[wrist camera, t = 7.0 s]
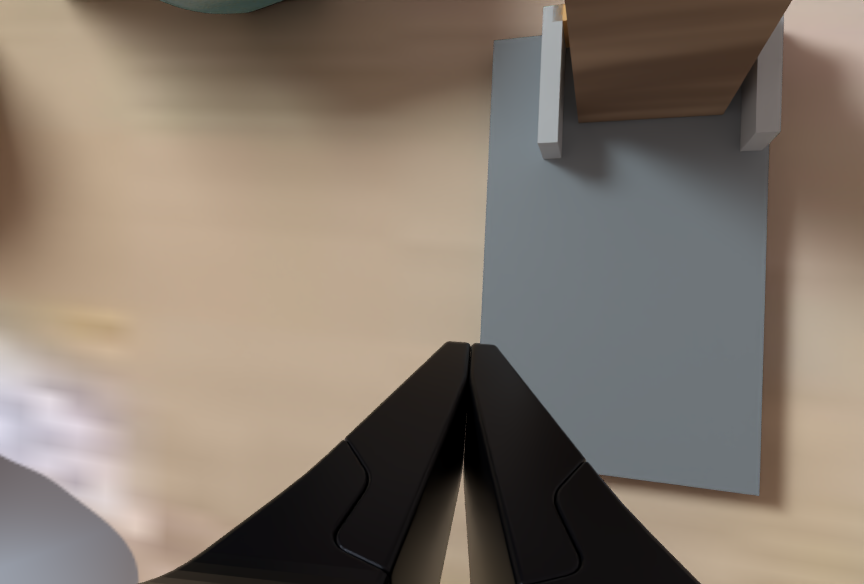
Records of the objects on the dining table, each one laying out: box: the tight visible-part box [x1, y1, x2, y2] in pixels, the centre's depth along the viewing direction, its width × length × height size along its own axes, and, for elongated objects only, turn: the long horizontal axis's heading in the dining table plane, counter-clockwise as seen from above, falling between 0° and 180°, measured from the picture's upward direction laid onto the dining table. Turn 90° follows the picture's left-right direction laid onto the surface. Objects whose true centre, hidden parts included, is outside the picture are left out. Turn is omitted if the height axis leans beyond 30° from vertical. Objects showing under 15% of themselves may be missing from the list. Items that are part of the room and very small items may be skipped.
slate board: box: [480, 4, 784, 496], centre depth 20 cm, size 17×10×3 cm, turn 177°
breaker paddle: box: [565, 0, 792, 123], centre depth 15 cm, size 3×5×10 cm, turn 87°
